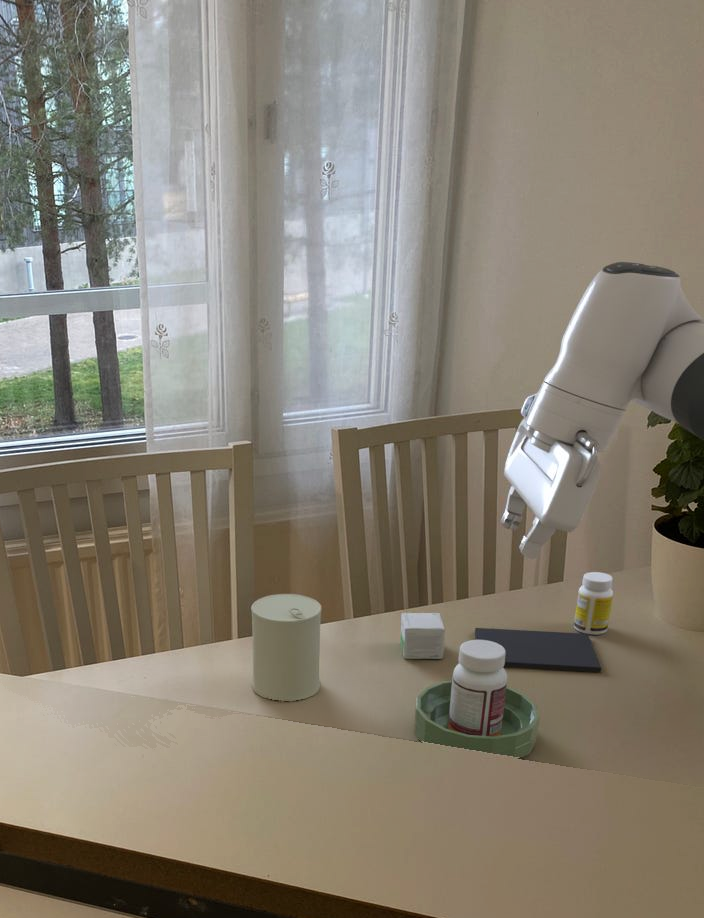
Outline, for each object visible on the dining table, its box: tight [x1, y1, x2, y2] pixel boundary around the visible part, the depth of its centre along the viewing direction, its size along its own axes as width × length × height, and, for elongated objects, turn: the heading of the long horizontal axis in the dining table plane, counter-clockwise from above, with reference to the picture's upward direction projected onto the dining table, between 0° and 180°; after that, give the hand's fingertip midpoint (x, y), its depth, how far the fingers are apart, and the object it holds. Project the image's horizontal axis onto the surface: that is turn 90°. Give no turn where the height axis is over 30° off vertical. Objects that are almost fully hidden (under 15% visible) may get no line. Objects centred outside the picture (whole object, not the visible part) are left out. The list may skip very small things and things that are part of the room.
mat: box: [474, 627, 603, 673], centre depth 130 cm, size 16×11×1 cm
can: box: [250, 593, 323, 702], centre depth 120 cm, size 9×9×12 cm
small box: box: [399, 612, 446, 660], centre depth 130 cm, size 6×6×5 cm
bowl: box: [414, 680, 540, 758], centre depth 109 cm, size 14×14×4 cm
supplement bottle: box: [573, 571, 614, 636], centre depth 135 cm, size 5×5×8 cm
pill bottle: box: [449, 639, 508, 736], centre depth 107 cm, size 6×6×11 cm
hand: (516, 540), depth 102 cm, fingers open, 8 cm apart
